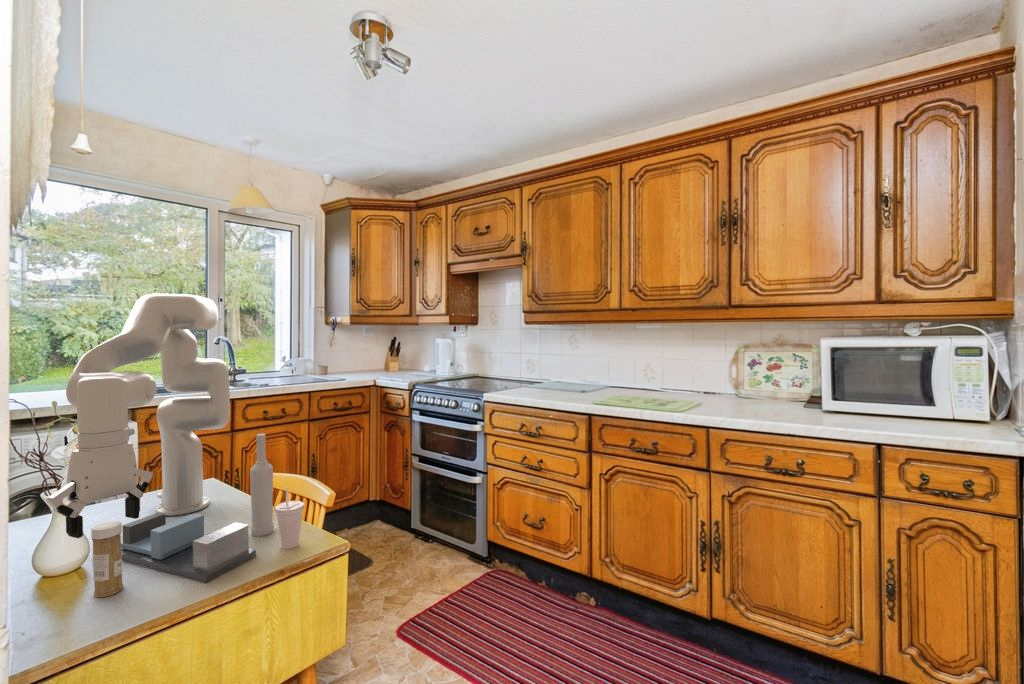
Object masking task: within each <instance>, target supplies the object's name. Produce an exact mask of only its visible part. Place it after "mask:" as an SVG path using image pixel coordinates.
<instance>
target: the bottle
mask: <svg viewBox="0 0 1024 684" xmlns="http://www.w3.org/2000/svg"><path fill="white" fill-rule="evenodd" d="M266 436H267V435H266V433H257V434H256V437H255V438H256V461H255V464H253V466H251V468H250V469H249V476H250V477H249V478H250V507H251V508H250V509H251V526H250V532H251V535H252V536H253V537H264V536H267V535H270V534H272V533H273V531H274V526H275V524H274V521H273V518H274V517H273V512H274V511H273V507H274V506H273V505H274V501H273V500H274V496H273V494H274V488H273V487H274V466H273V465H272V464H270V463H269V462H268V460H267V454H266V453H267V452H266V449H267V446H266V445H267V444H266V442H267V441H266V439H267V438H266Z"/></svg>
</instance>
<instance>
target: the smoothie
mask: <svg viewBox="0 0 1024 684" xmlns="http://www.w3.org/2000/svg"><path fill="white" fill-rule="evenodd" d="M304 509H305V502H303V501H300V500H290V499H289V487H286V488H285V501H284V502H280V503H279V504H277V505H276V506H274V513H276V517H277V518H276V519H277V527H278V531H279V538H280V544H281V548H282V549H284V550H290V549H294V548H296V547H298V546H299V544H300V536H301V535H300V534H301V527H302V517H303V512H304V511H303V510H304Z"/></svg>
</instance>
